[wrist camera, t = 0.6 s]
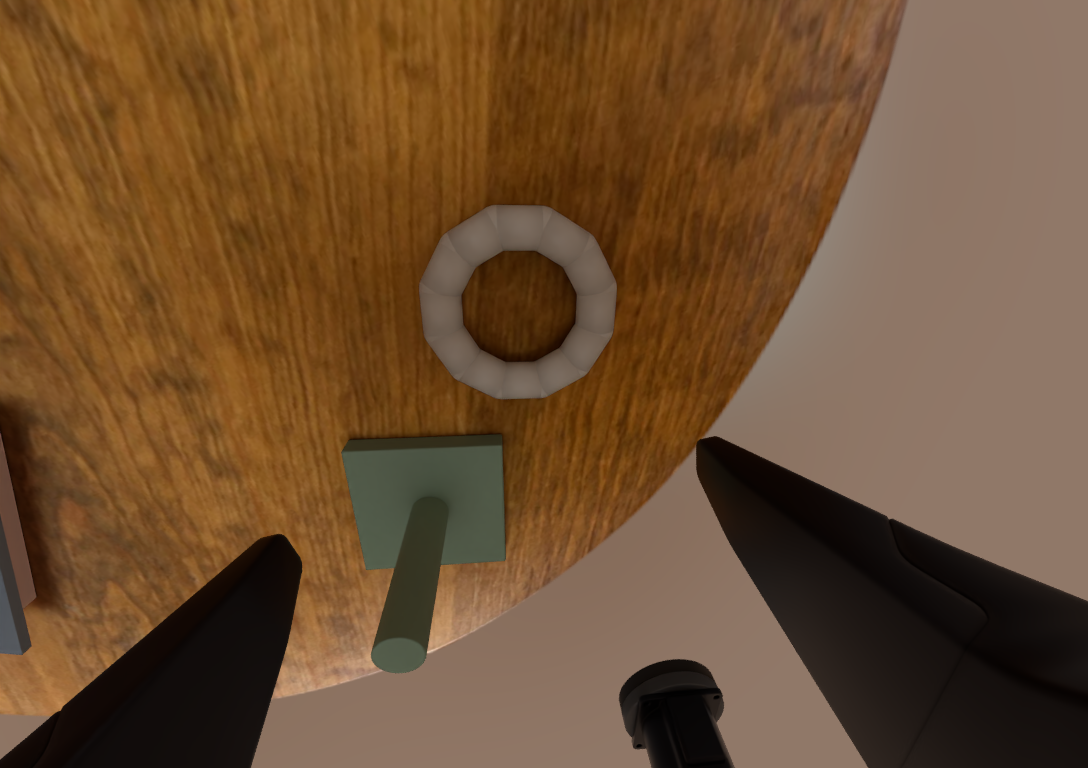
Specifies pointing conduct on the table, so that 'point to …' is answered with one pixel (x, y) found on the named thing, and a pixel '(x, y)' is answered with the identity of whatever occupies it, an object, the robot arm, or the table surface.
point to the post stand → (423, 525)
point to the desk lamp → (12, 570)
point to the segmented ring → (517, 233)
